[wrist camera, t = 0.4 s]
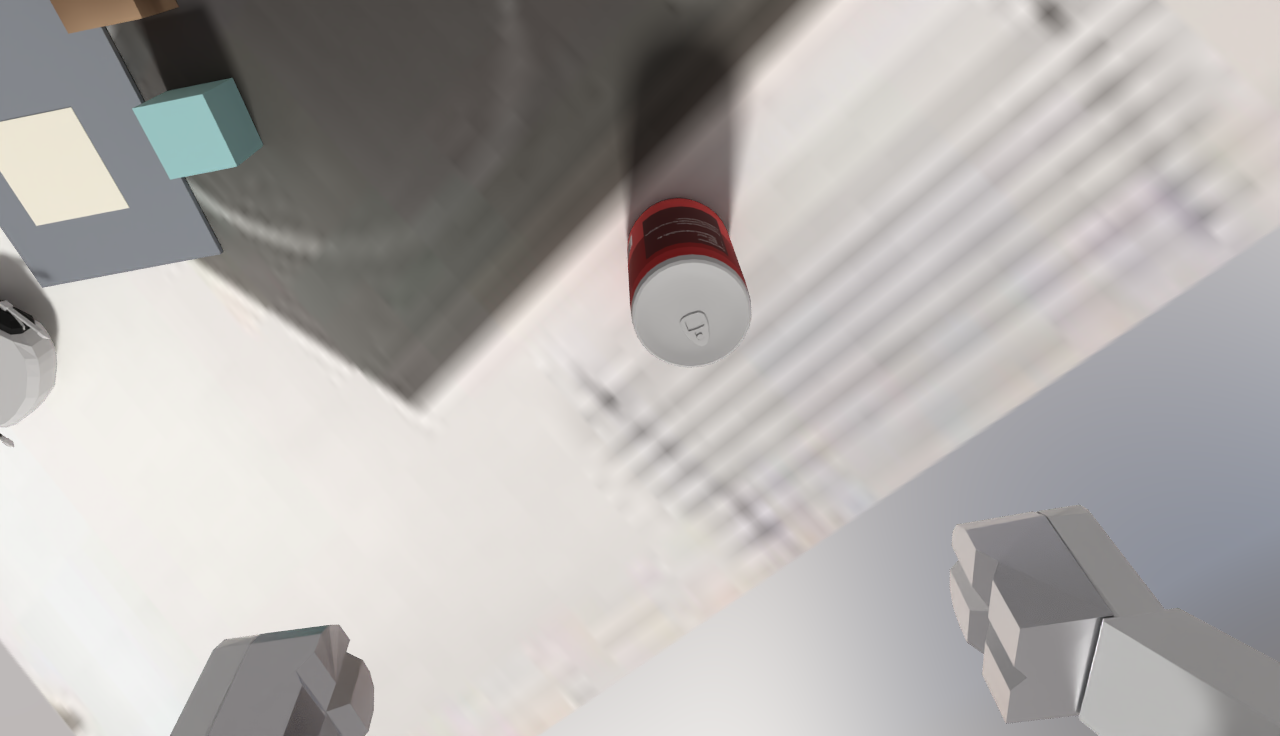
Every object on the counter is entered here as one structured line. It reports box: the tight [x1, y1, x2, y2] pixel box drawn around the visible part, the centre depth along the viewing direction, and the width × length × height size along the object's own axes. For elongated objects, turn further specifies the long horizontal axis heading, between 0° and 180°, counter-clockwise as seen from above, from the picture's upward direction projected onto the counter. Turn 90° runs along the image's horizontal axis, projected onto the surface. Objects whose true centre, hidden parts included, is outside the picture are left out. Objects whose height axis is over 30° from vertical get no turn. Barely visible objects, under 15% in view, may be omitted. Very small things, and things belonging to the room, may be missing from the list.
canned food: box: [627, 198, 751, 367], centre depth 52 cm, size 8×8×11 cm
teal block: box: [132, 78, 263, 180], centre depth 49 cm, size 4×4×4 cm
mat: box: [0, 0, 223, 288], centre depth 50 cm, size 20×14×1 cm
